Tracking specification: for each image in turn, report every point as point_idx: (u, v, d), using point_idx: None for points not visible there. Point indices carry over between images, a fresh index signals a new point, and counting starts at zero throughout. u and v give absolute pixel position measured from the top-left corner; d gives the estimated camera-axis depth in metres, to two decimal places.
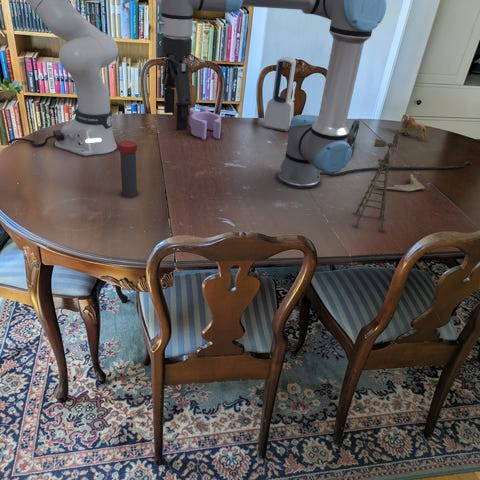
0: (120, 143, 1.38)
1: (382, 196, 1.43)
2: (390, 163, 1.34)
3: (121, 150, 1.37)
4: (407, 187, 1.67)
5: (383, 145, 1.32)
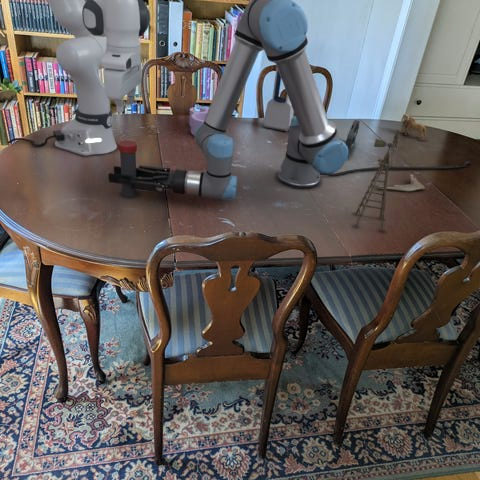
0: (120, 143, 1.38)
1: (382, 196, 1.43)
2: (390, 163, 1.34)
3: (121, 150, 1.37)
4: (407, 187, 1.67)
5: (383, 145, 1.32)
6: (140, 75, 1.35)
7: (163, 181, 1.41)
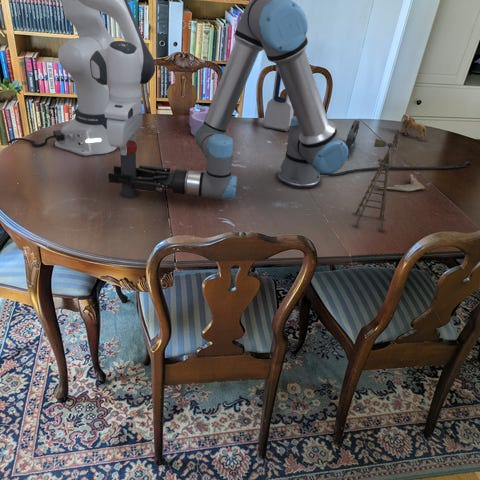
0: None
1: (382, 196, 1.43)
2: (390, 163, 1.34)
3: None
4: (407, 187, 1.67)
5: (383, 145, 1.32)
6: (141, 119, 1.42)
7: (163, 181, 1.41)
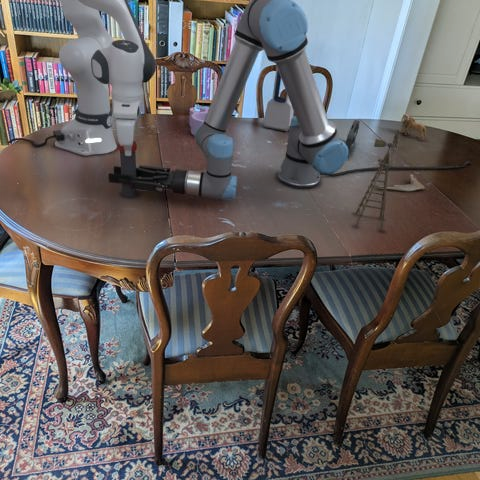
0: None
1: (382, 196, 1.43)
2: (390, 163, 1.34)
3: (132, 150, 1.37)
4: (407, 187, 1.67)
5: (383, 145, 1.32)
6: (137, 117, 1.43)
7: (163, 181, 1.41)
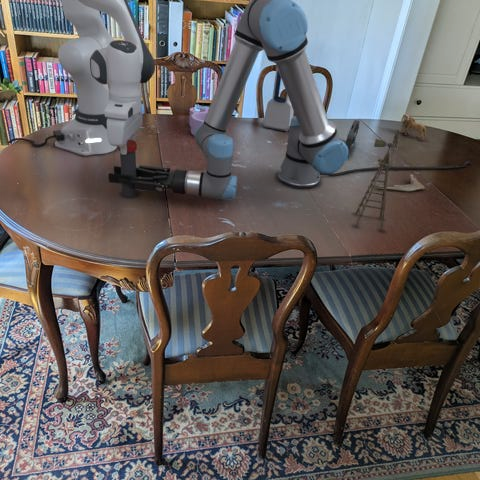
0: None
1: (382, 196, 1.43)
2: (390, 163, 1.34)
3: (132, 150, 1.37)
4: (407, 187, 1.67)
5: (383, 145, 1.32)
6: (141, 118, 1.42)
7: (163, 181, 1.41)
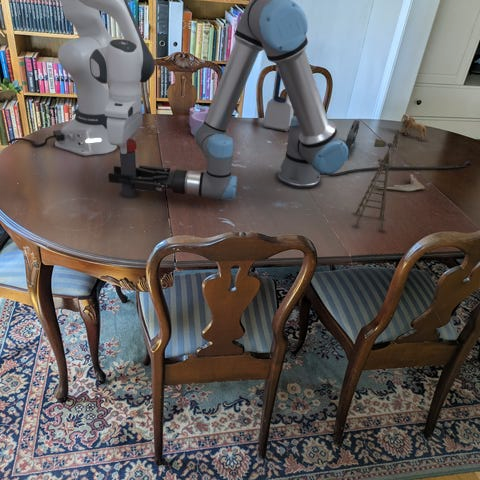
0: (132, 143, 1.37)
1: (382, 196, 1.43)
2: (390, 163, 1.34)
3: None
4: (407, 187, 1.67)
5: (383, 145, 1.32)
6: (141, 118, 1.42)
7: (163, 181, 1.41)
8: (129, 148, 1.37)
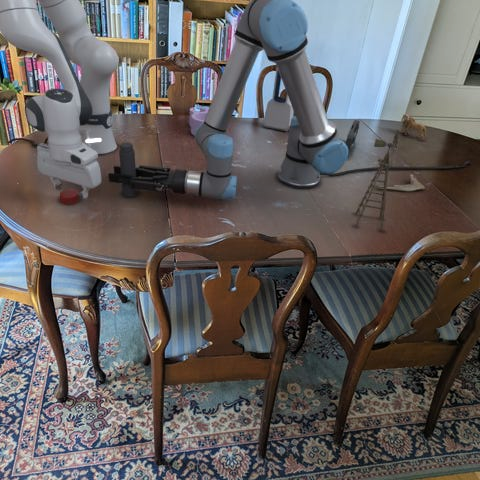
0: (74, 191, 1.41)
1: (382, 196, 1.43)
2: (390, 163, 1.34)
3: None
4: (407, 187, 1.67)
5: (383, 145, 1.32)
6: None
7: (163, 181, 1.41)
8: None
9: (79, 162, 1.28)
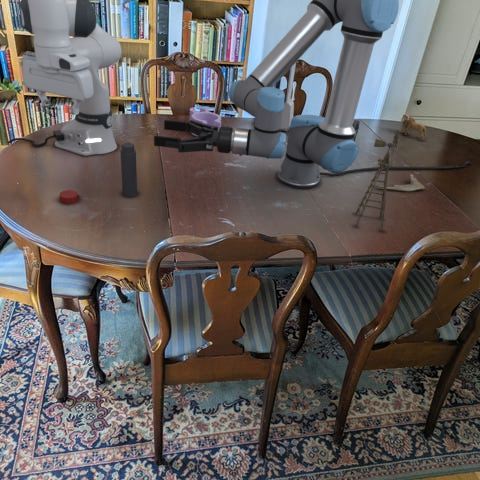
0: (74, 191, 1.41)
1: (382, 196, 1.43)
2: (390, 163, 1.34)
3: None
4: (407, 187, 1.67)
5: (383, 145, 1.32)
6: None
7: (208, 138, 1.32)
8: None
9: (68, 67, 1.14)
